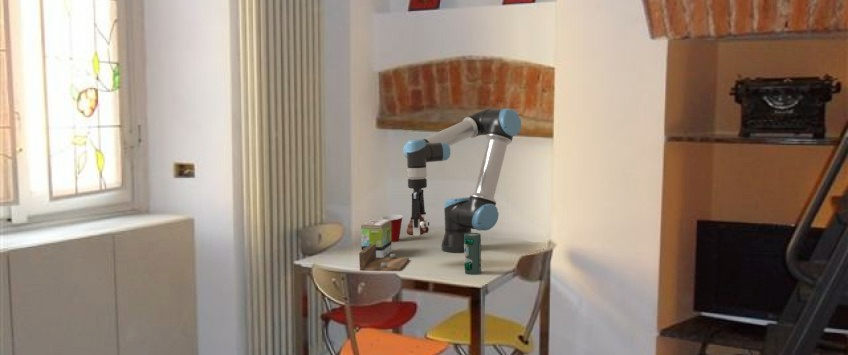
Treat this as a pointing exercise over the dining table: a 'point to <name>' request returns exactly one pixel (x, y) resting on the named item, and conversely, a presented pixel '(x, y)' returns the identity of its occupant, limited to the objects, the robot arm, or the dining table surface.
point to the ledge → (379, 261)
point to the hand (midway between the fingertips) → (418, 233)
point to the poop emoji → (423, 226)
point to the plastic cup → (394, 226)
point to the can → (472, 253)
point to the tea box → (377, 236)
